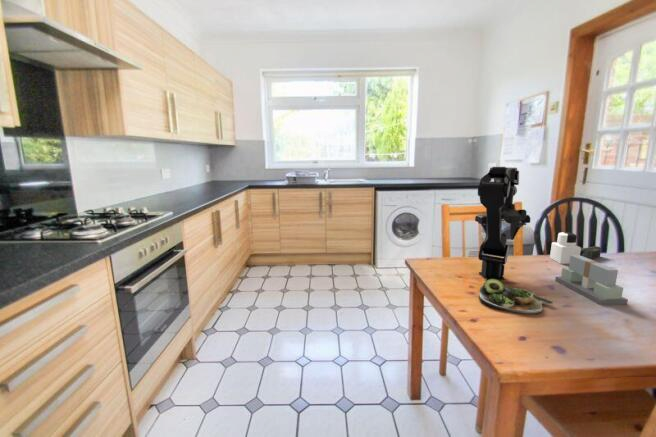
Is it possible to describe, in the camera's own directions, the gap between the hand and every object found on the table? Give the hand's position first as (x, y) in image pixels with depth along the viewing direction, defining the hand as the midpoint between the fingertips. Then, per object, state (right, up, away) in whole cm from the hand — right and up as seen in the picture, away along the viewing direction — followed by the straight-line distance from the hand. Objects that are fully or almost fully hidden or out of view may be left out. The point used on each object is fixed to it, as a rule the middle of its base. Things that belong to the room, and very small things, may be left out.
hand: (500, 239), depth 121 cm
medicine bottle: (+30, -9, +7) cm, 32 cm away
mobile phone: (+42, -9, +9) cm, 44 cm away
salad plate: (-12, -17, -25) cm, 33 cm away
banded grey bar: (+17, -10, -22) cm, 29 cm away
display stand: (+17, -15, -21) cm, 31 cm away
